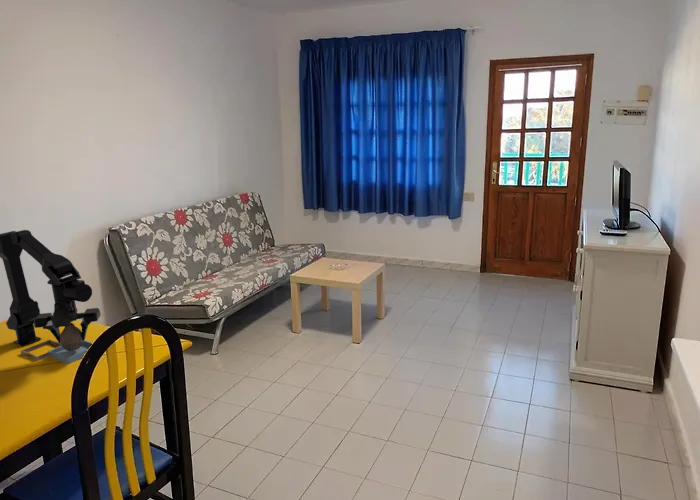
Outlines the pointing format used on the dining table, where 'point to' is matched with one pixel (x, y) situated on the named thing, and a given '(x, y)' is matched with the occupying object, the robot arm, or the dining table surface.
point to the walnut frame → (25, 351)
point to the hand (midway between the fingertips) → (72, 341)
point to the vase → (71, 338)
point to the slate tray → (69, 353)
